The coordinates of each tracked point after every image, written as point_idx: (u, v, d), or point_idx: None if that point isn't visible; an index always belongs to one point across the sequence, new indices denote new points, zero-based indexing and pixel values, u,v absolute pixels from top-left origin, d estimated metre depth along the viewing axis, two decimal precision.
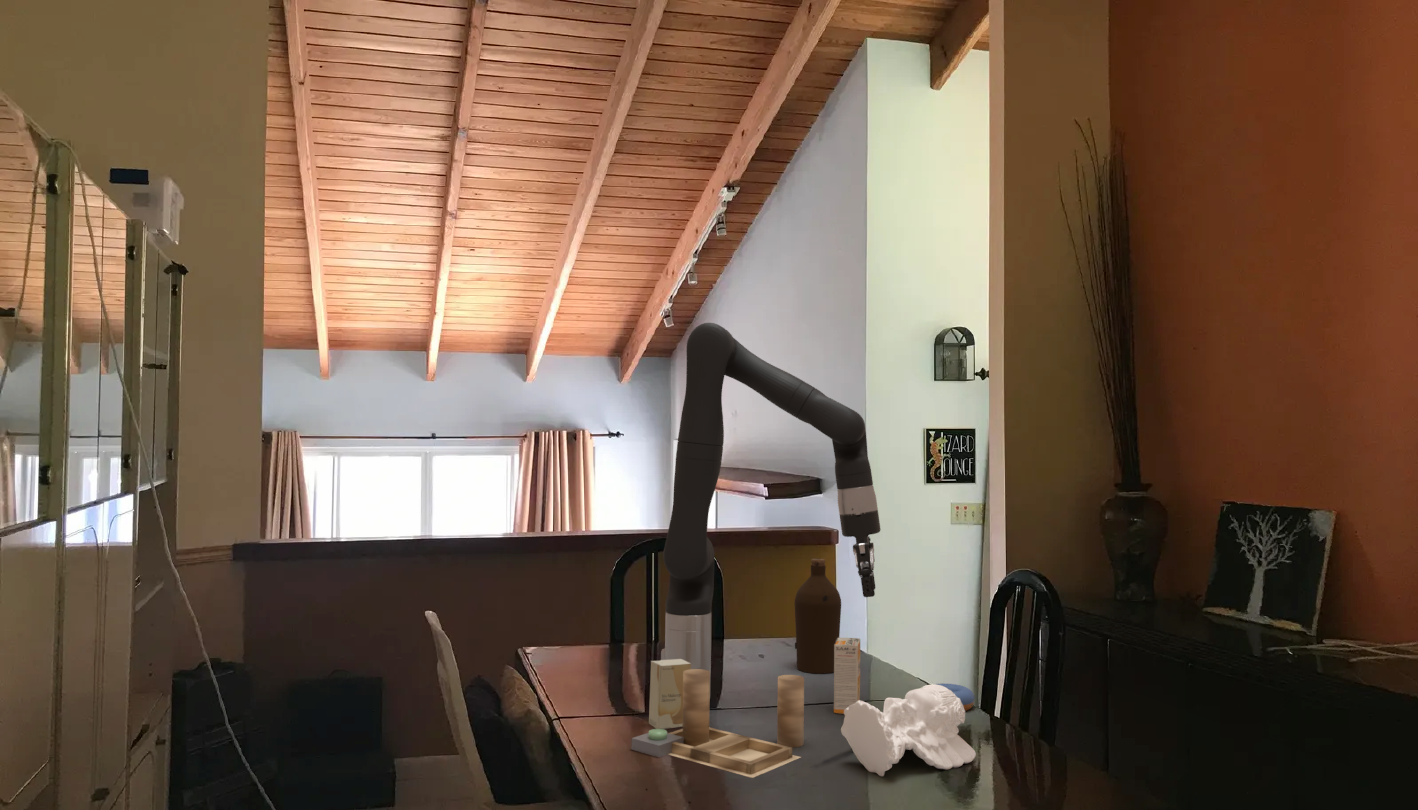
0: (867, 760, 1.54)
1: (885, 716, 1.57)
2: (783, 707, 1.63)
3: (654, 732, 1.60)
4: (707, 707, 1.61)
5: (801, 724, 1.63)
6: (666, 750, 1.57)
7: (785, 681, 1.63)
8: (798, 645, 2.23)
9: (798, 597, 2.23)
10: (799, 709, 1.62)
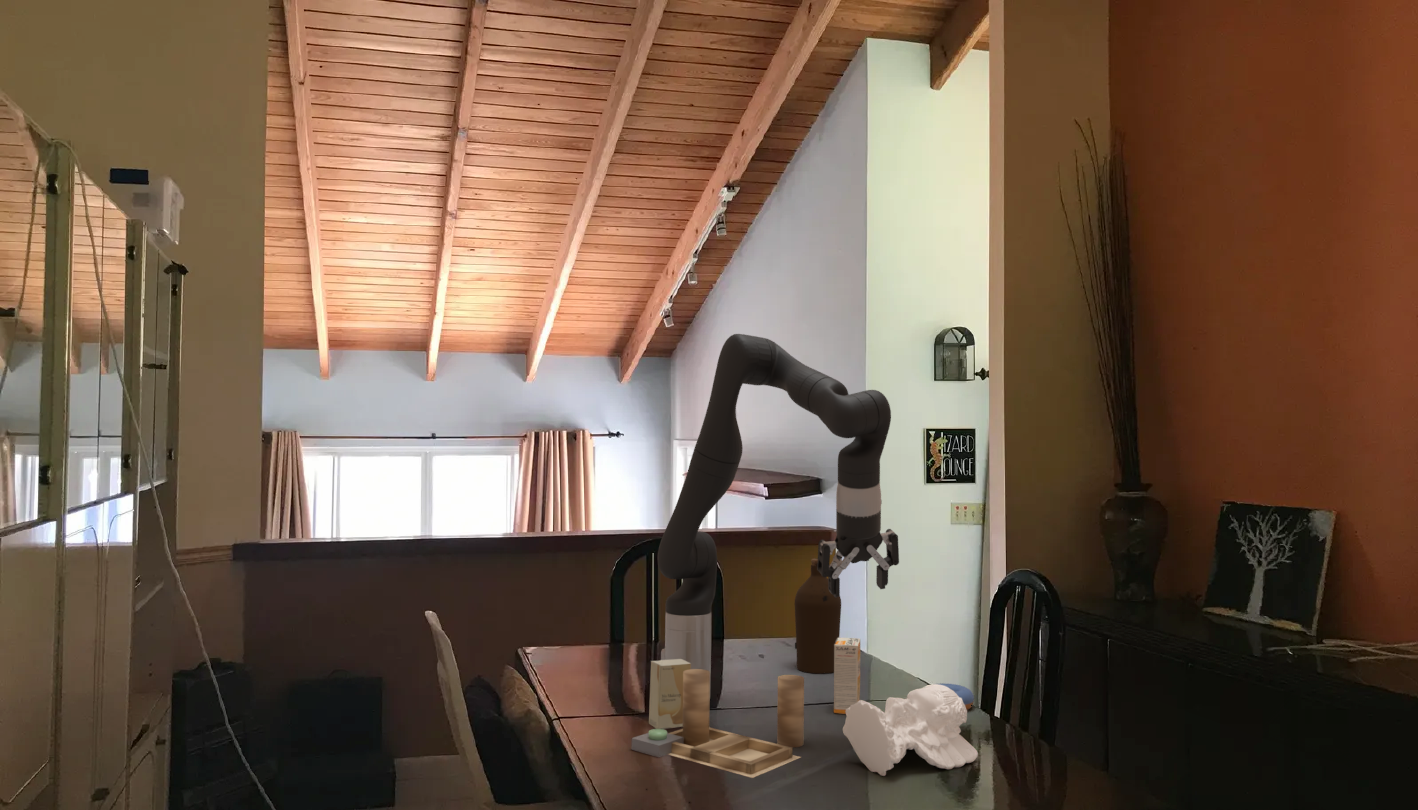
0: (869, 760, 1.54)
1: (887, 716, 1.57)
2: (783, 707, 1.63)
3: (654, 732, 1.60)
4: (707, 707, 1.61)
5: (801, 724, 1.63)
6: (666, 750, 1.57)
7: (785, 681, 1.63)
8: (798, 645, 2.23)
9: (798, 597, 2.23)
10: (799, 709, 1.62)
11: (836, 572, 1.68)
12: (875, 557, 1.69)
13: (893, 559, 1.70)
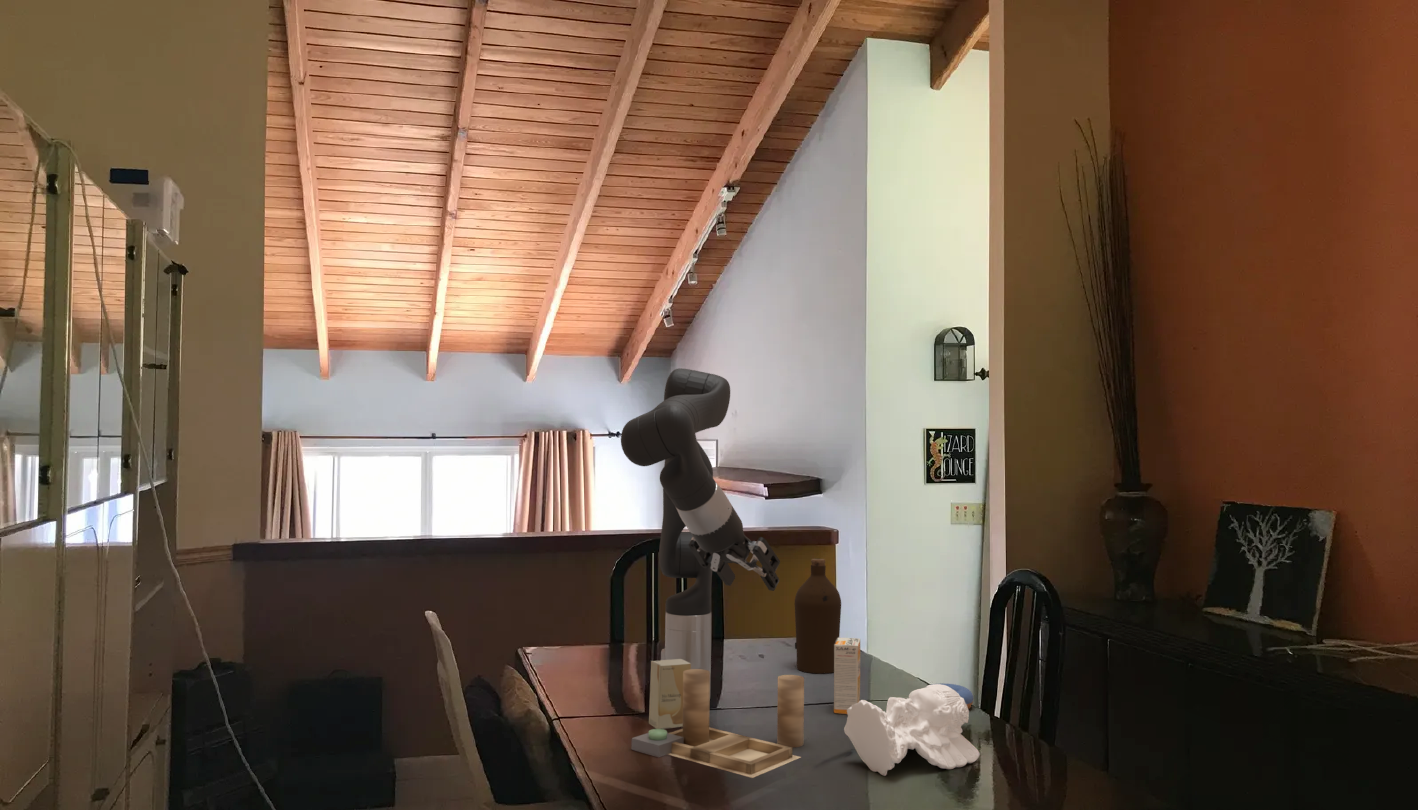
0: (870, 759, 1.54)
1: (888, 716, 1.57)
2: (783, 707, 1.63)
3: (654, 732, 1.60)
4: (707, 707, 1.61)
5: (801, 724, 1.63)
6: (666, 750, 1.57)
7: (785, 681, 1.63)
8: (798, 645, 2.23)
9: (798, 597, 2.23)
10: (799, 709, 1.62)
11: (713, 566, 1.56)
12: (742, 565, 1.50)
13: (766, 569, 1.49)
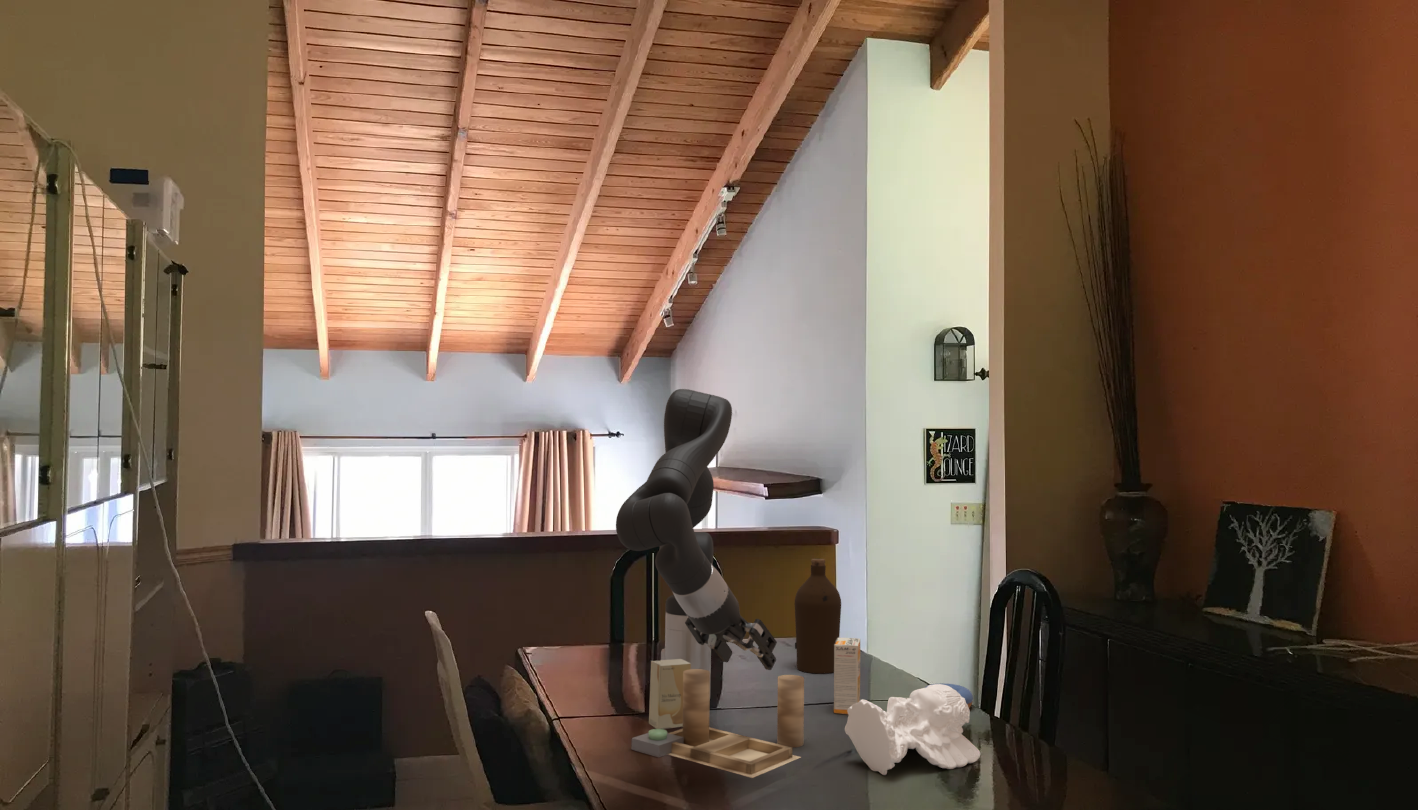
0: (870, 759, 1.54)
1: (888, 715, 1.57)
2: (783, 707, 1.63)
3: (654, 732, 1.60)
4: (707, 707, 1.61)
5: (801, 724, 1.63)
6: (666, 750, 1.57)
7: (785, 681, 1.63)
8: (798, 645, 2.23)
9: (798, 597, 2.23)
10: (799, 709, 1.62)
11: (710, 644, 1.55)
12: (738, 645, 1.49)
13: (762, 651, 1.48)
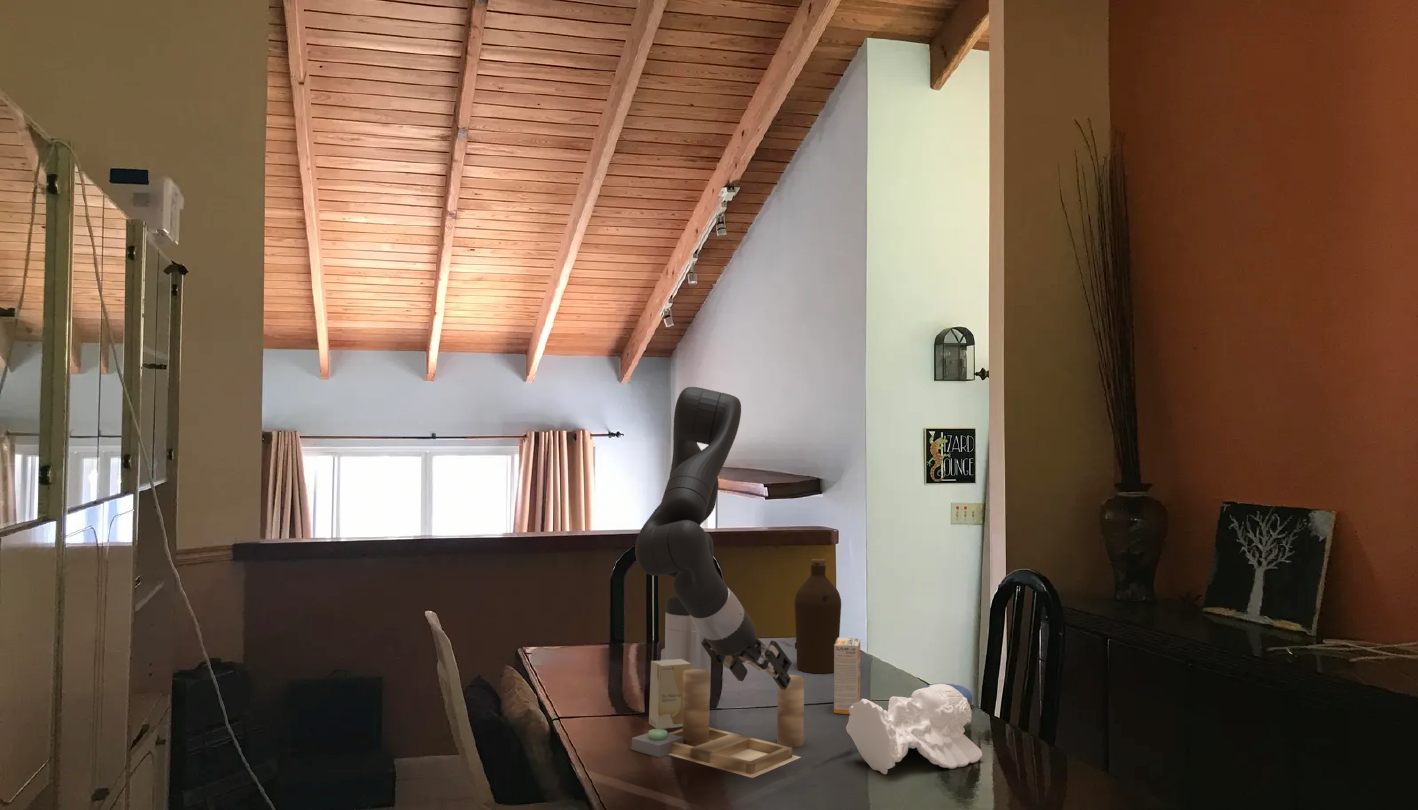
0: (871, 758, 1.55)
1: (890, 715, 1.57)
2: (783, 707, 1.63)
3: (654, 732, 1.60)
4: (707, 707, 1.61)
5: (801, 724, 1.63)
6: (666, 750, 1.57)
7: None
8: (798, 645, 2.23)
9: (798, 597, 2.23)
10: (799, 709, 1.62)
11: (725, 664, 1.58)
12: (754, 666, 1.53)
13: (777, 671, 1.51)
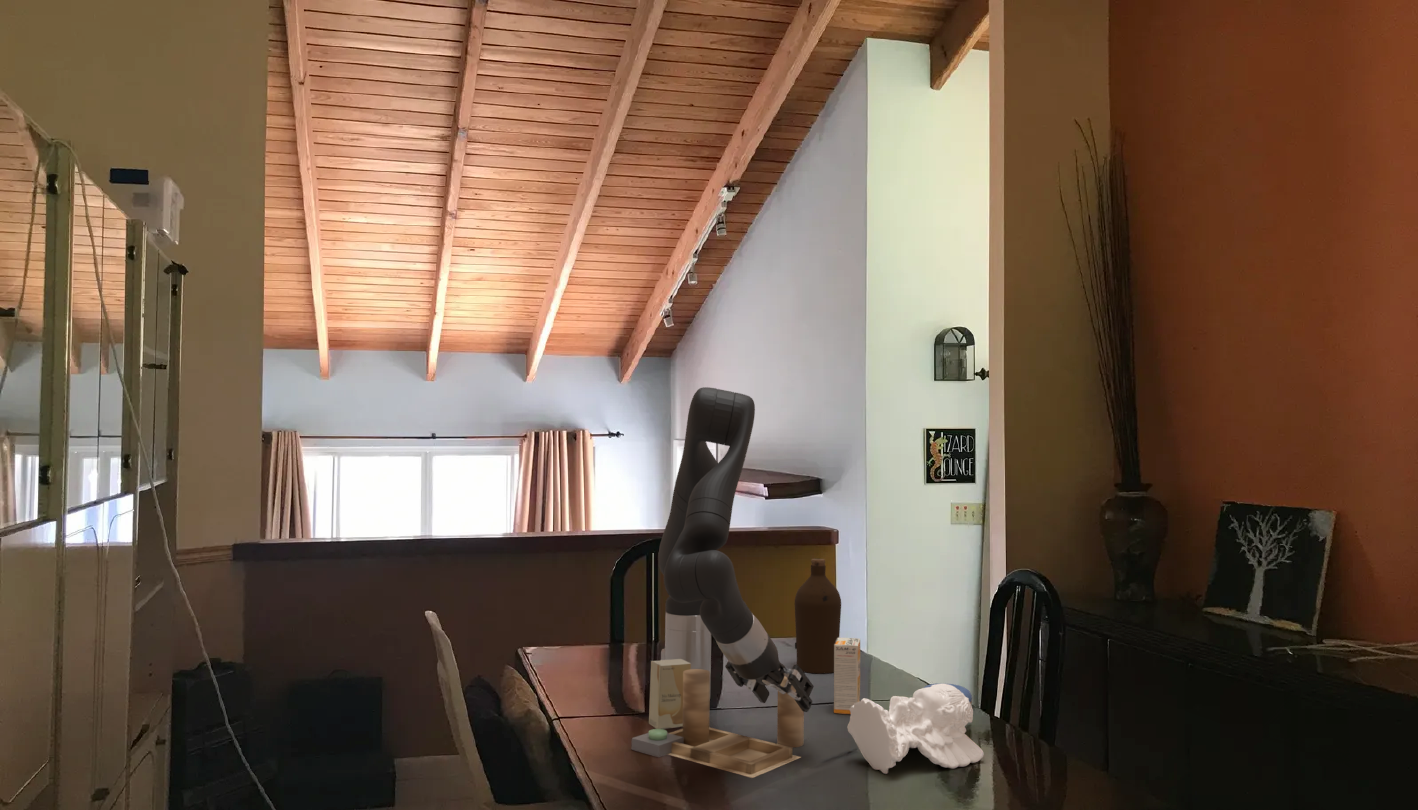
0: (872, 757, 1.55)
1: (891, 714, 1.58)
2: (783, 707, 1.63)
3: (654, 732, 1.60)
4: (707, 707, 1.61)
5: (801, 724, 1.63)
6: (666, 750, 1.57)
7: (785, 681, 1.63)
8: (798, 645, 2.23)
9: (798, 597, 2.23)
10: (799, 709, 1.62)
11: (748, 686, 1.63)
12: (777, 689, 1.57)
13: (800, 695, 1.56)
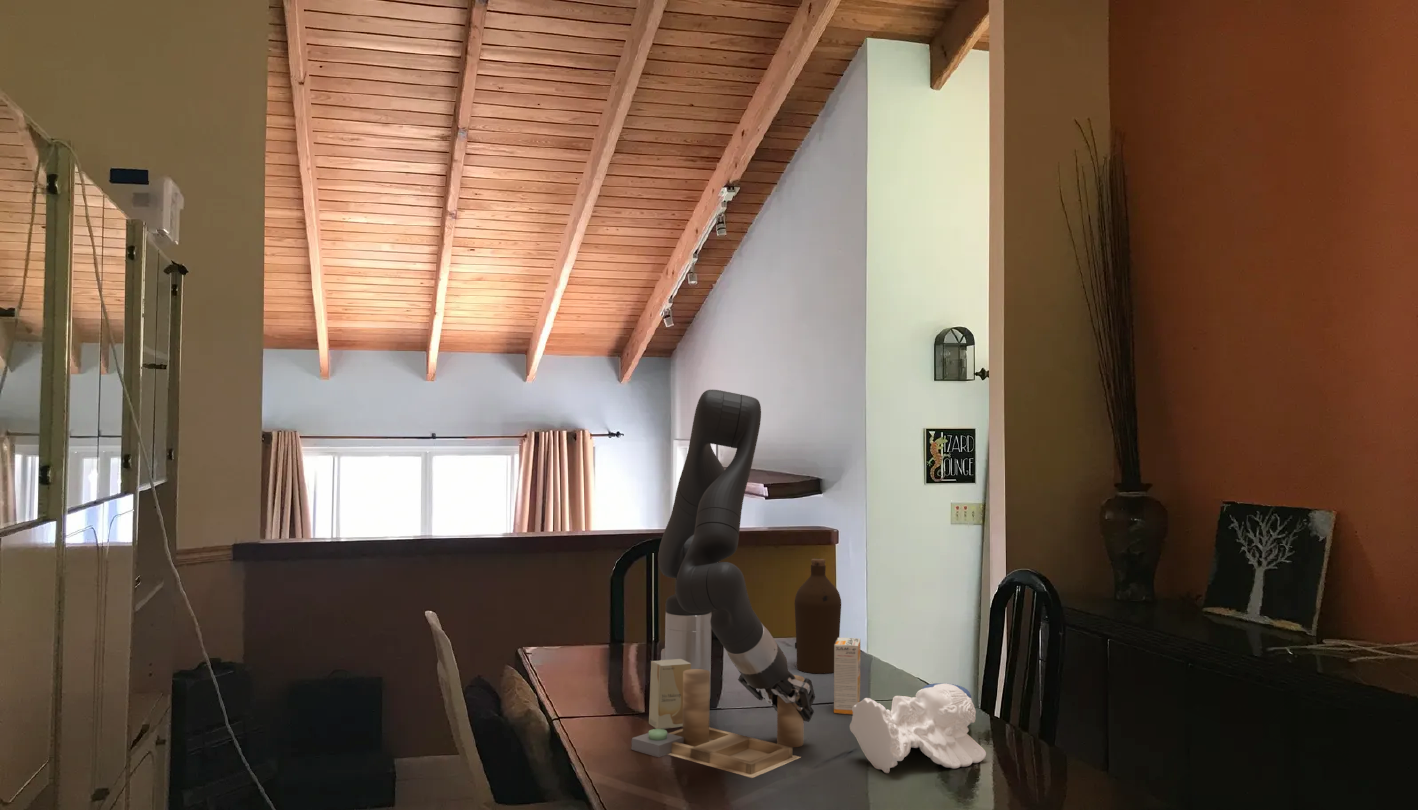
0: (873, 757, 1.55)
1: (893, 714, 1.58)
2: (783, 707, 1.63)
3: (654, 732, 1.60)
4: (707, 707, 1.61)
5: (801, 724, 1.63)
6: (666, 750, 1.57)
7: None
8: (798, 645, 2.23)
9: (798, 597, 2.23)
10: None
11: (768, 700, 1.64)
12: (783, 698, 1.60)
13: (802, 705, 1.59)
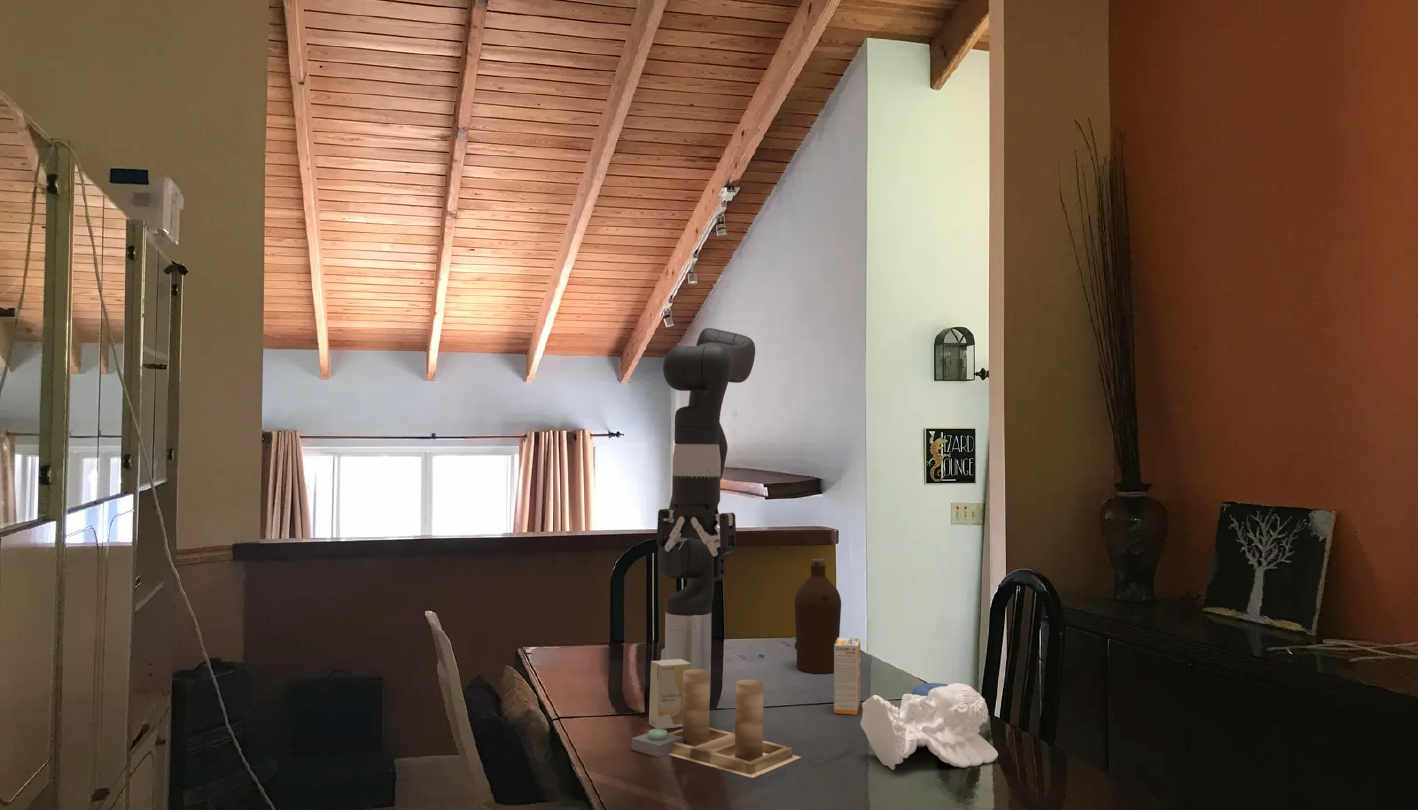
0: (881, 753, 1.57)
1: (902, 711, 1.59)
2: (741, 714, 1.54)
3: (654, 732, 1.60)
4: (707, 707, 1.61)
5: (760, 732, 1.54)
6: (666, 750, 1.57)
7: (743, 686, 1.54)
8: (798, 645, 2.23)
9: (798, 597, 2.23)
10: (757, 716, 1.54)
11: (668, 544, 1.55)
12: (700, 535, 1.50)
13: (721, 544, 1.48)
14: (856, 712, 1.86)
